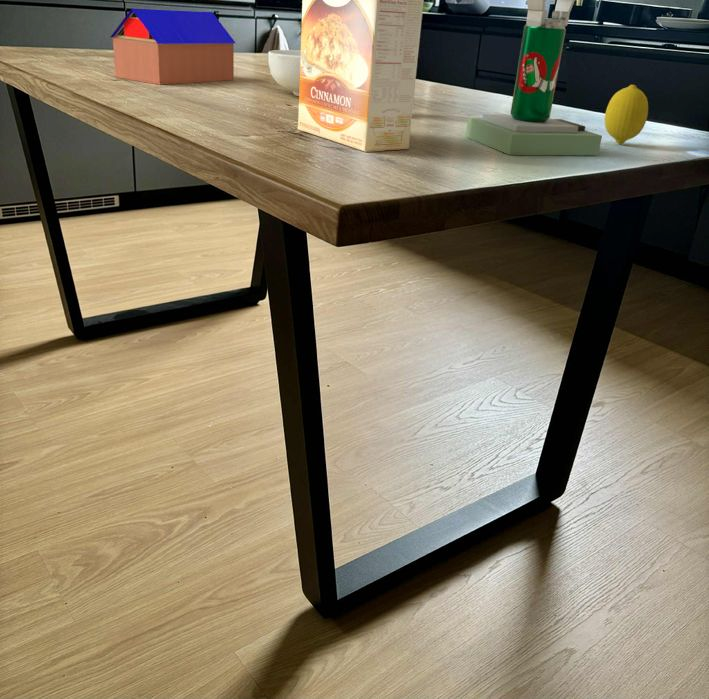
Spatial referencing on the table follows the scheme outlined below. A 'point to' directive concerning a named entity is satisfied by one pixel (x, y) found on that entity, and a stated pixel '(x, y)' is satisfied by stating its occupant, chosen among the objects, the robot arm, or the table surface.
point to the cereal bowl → (286, 68)
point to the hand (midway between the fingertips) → (547, 27)
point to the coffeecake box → (359, 71)
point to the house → (172, 47)
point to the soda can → (538, 71)
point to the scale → (532, 136)
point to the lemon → (626, 114)
